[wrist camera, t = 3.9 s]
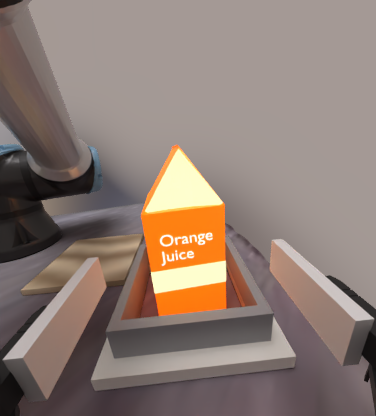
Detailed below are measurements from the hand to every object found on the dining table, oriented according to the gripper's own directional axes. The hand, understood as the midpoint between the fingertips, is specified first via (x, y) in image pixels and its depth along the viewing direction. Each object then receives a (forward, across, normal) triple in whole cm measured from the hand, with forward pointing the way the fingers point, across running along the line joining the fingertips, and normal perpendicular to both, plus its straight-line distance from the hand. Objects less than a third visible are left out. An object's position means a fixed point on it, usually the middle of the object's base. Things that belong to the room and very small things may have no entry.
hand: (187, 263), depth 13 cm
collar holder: (+8, 0, -11) cm, 14 cm away
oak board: (+20, -18, -11) cm, 29 cm away
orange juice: (+8, 0, -12) cm, 14 cm away
